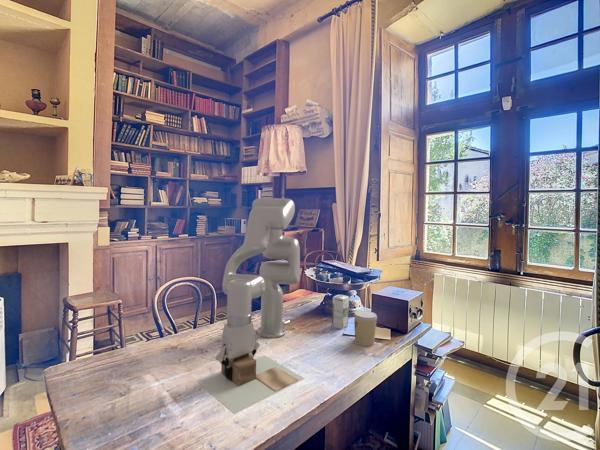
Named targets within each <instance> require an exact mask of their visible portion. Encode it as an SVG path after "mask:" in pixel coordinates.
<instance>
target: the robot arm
mask: <svg viewBox="0 0 600 450" xmlns="http://www.w3.org/2000/svg"><path fill="white" fill-rule="evenodd" d="M251 207H252V209H251V210H250V212H249V216H248V220H247V224H246V230H245V235H244V240H243V244H241V246H240V247H239V248H238V249H237V250H235V251H234V253H233V254H232V255H231V257H230V258H229V259H228V261H227V263H226V265H225V268H224V273H223V277H222V288H221V289H222V292H223V293H224V294H225V295H226V296H227V299H226V302H227V303H226V309H227V310H226V323H225V324H224V325H223V328H222V329H223V330H222V334H221V342H220V351H219V352H218V354H217V355H216V356H215V360H216V361H217V362H219V363H220V365H221V364H223V365H224V366H225V377H226V378H227V379H228V380H230V381H231V380H232V367H231V365H232V362H233V359H234V358H236V357H239V356H242V355H245V354H247V355H248V356H250V357H252V358H253V359H255V358H254V356H255V355H256V353H257V350H258V349H259V348H260V346H261V345H260V343H259V342H258V341H257V340H256V339H255V338H256V337H255V327H254V322H253V321H252V317H254V316H255V314H254V312H253V311H252V300H254V299H257V298H260V297H261V298H260V306H261V307H260V326H259V328H258V329H257V330H256V333H257V335H258V336H259V337H262V338H265V339H266V338H267V339H276V338H281V337H283V336H284V335H286V333H287V330H286V328H285V327H286V326H288V325H291V320H289V319H288V320H285V319H284V318H283V317H284V315H283V313H284V312H283V311H284V292H283V290H282V287H281V286H280V285H290V286H292V285H296V284H299V281H300V277H301V276H300V275H301V273H300V272H301V248H300V247H301V246H300V243H299V240H298V239H297V238H294V237H284V236H283V231H284V230H286V229H287V228H288V226H289V225H290V223H291V221H292V220H293V218H294V216H295V213H296V212H295V211H296V206H295V202H294V201H293V200H292V199H291V198H275V197H260V198H255V199H254V200H253V201H252V205H251ZM260 254H263V257H264V258H266V259H269V261H265V262H263V263H261V265H260V266H259V274H257V275H256V274H248V273H245V274H244V273H237V271H238V268H239V266H240V265H241V264H242V263H244V261H246V260H248V259H250V258H252V257H255V256H257V255H260ZM270 259H271V260H270ZM275 260H285V261H275ZM224 355H226V356H225V359H223V356H224ZM228 360H229V361H228Z"/></svg>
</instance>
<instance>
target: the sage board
mask: <svg viewBox="0 0 600 450" xmlns="http://www.w3.org/2000/svg"><path fill="white" fill-rule="evenodd" d="M254 359H255V360H256V375H257V374H259V373H262V372H264V371H266V370H269V369H271V368H273V367H277V368H279V369H281V370H283V371H284V372H286V373H288V374H289V375H291V376H293V377H295V378H296V379H298V381H297V382H295V383H293V384H291V385H289V386H287V387H285V388H283V389H281V390H278V391H274V390H273V389H271V388H270V387H268V386H267V385H265V384H264V383H262V382H261V381H259V380H258V379H257V378H256V379H255V380H252V381H250V382H248V383H246V384H243V385H241V386H239V387H238V386H237V385H236V384H234V383H233V382H232V381H230V380H228V379H227V378H226V377H225V376H224V375H223V374H221V371H220V372H217V373H215V374H212V375H209V376H206V377H204V378H201V379H199V380H197V381H196V382H197V383H198V384H199V385H201V386H202V387H203V388H204V389H205V390H206V391H208V393H210V395H212V396H213V397H214V398H215V399H216V400H218V401H219V402H220V403H221V404H222V405H223V406H224V407H225V408H227V410H228V411H230V412H231V413H232V414H233V415H236V414H238V413H239V412H241V411H243V410H245V409H248V408H250V407H252V406H253V405H255V404H257V403H260V402H261V401H263V400H265V399H267V398H269V397H271V396H273V395H275V394H278V393H280V392H282V391H283V390H285V389H287V388H289V387H291V386H293V385H295V384H298V383H299V382H301V381H304V380H305V379H306V377H304V376H301V375H300V374H298V373H296V372H295V371H293V370H291V369H289V368H288V367H286V366H284V365H283V364H280V363H279V362H277V361H276V360H274V359H272V358H270V357H268V356H266V355H261V356H259V357H257V358H254Z"/></svg>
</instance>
